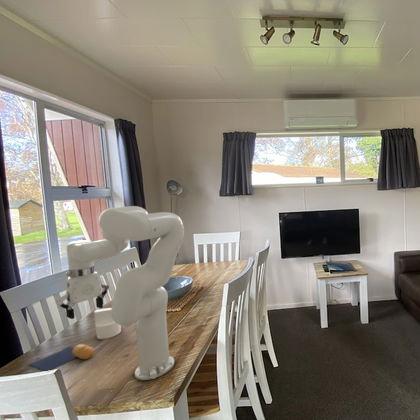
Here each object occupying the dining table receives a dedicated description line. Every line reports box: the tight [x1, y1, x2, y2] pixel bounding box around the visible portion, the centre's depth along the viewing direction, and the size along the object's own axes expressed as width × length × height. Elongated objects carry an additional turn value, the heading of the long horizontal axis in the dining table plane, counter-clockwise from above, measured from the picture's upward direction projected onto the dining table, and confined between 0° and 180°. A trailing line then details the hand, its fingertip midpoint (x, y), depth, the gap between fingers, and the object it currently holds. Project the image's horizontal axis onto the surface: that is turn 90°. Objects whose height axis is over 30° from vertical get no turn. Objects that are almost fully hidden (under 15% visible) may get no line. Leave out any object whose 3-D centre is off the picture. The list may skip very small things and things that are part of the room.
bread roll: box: [72, 343, 95, 360], centre depth 109 cm, size 9×5×5 cm, turn 68°
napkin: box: [30, 347, 78, 372], centre depth 108 cm, size 12×12×1 cm
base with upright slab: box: [93, 307, 122, 340], centre depth 126 cm, size 9×9×12 cm
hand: (86, 312), depth 109 cm, fingers open, 9 cm apart
